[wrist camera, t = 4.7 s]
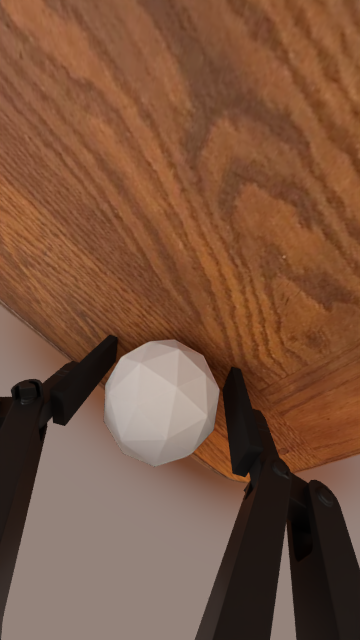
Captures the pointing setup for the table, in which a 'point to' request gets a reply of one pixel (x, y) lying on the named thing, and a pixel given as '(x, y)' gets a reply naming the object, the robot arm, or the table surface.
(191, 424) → the geometric ball
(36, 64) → the table surface
